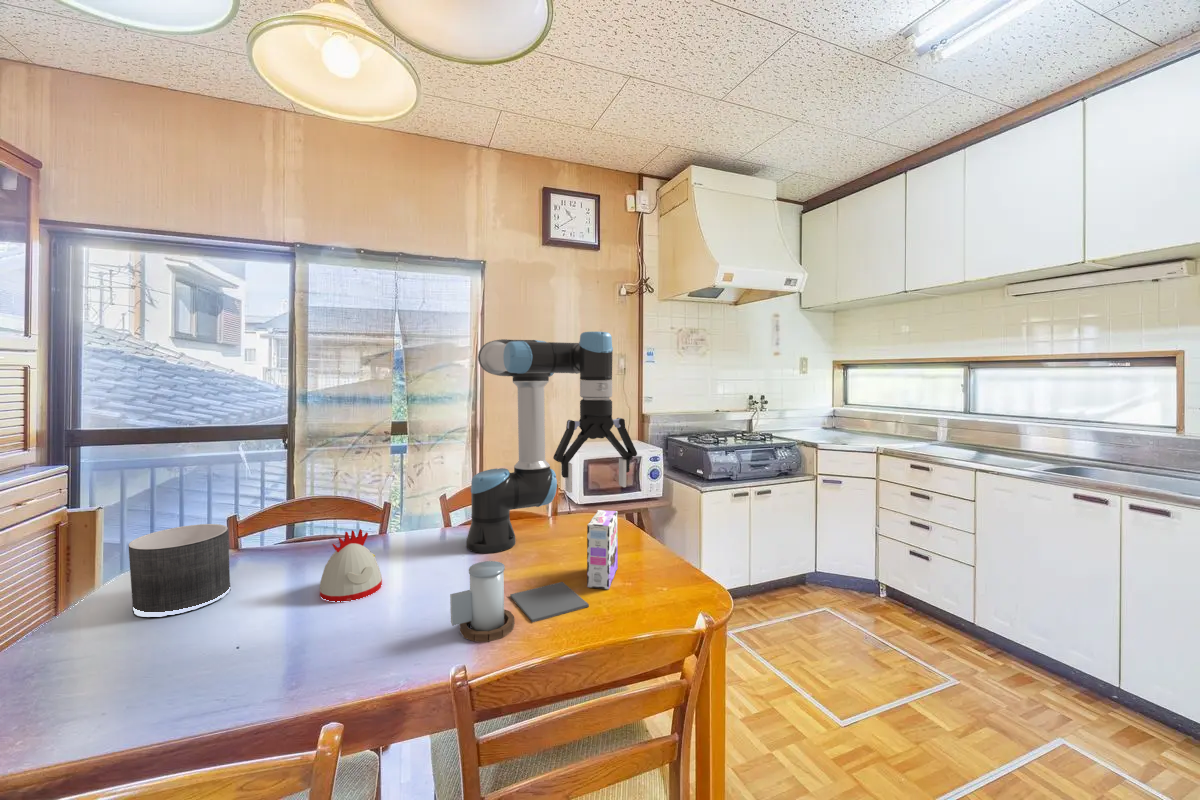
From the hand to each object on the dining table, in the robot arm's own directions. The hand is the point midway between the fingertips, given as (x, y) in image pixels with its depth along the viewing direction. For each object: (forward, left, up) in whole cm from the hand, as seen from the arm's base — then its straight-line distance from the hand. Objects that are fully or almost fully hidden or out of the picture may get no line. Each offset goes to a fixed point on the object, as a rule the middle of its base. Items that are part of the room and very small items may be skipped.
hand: (596, 488), depth 114 cm
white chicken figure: (-36, -50, -27) cm, 68 cm away
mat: (-5, -10, -27) cm, 29 cm away
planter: (-50, -85, -27) cm, 103 cm away
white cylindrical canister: (-1, -28, -27) cm, 39 cm away
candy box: (-10, +8, -27) cm, 30 cm away
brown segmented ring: (-1, -26, -27) cm, 38 cm away
